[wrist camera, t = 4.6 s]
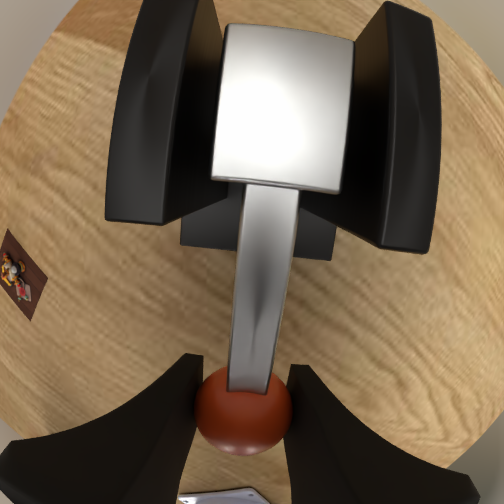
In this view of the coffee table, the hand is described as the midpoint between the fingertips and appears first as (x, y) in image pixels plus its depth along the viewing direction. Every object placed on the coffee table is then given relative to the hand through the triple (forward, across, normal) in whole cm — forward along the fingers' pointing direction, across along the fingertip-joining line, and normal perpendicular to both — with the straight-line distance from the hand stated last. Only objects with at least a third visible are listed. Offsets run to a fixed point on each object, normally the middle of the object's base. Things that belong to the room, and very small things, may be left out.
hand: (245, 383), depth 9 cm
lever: (0, 0, -4) cm, 4 cm away
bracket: (+6, 0, -8) cm, 10 cm away
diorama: (+6, +16, 0) cm, 17 cm away
